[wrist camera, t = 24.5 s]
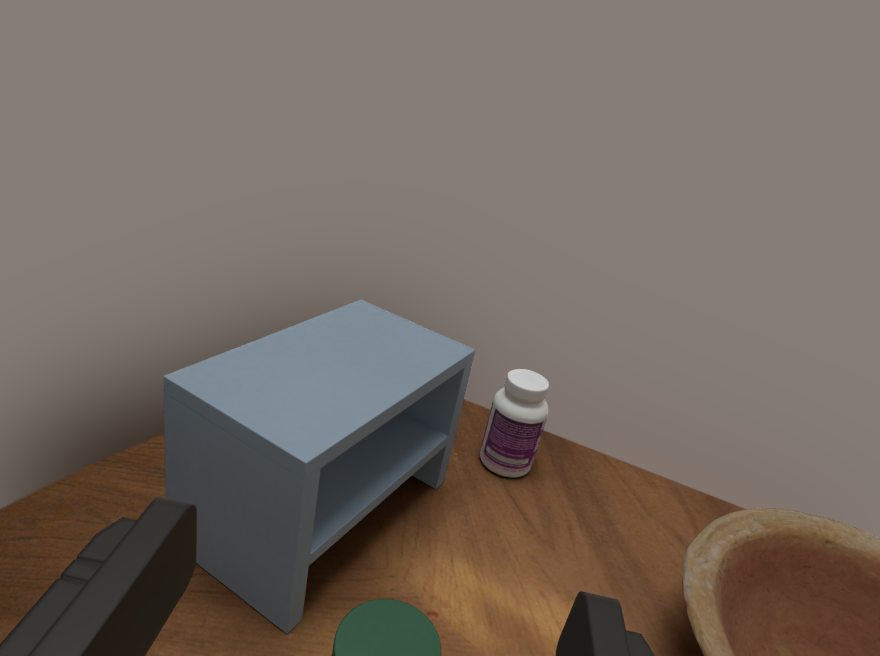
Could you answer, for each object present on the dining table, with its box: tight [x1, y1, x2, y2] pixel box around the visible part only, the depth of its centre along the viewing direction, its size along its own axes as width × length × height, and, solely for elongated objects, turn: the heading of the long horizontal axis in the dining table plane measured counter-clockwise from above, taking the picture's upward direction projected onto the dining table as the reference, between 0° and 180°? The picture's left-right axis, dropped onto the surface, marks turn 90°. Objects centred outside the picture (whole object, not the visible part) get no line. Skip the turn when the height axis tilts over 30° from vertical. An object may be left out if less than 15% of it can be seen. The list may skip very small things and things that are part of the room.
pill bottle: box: [480, 369, 549, 478], centre depth 57 cm, size 5×5×10 cm
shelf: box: [164, 300, 475, 634], centre depth 45 cm, size 12×20×14 cm, turn 149°
